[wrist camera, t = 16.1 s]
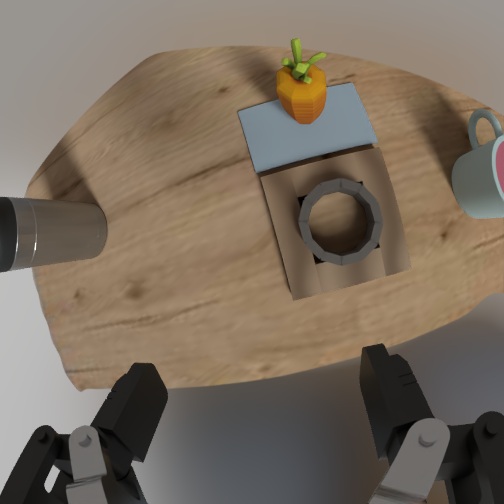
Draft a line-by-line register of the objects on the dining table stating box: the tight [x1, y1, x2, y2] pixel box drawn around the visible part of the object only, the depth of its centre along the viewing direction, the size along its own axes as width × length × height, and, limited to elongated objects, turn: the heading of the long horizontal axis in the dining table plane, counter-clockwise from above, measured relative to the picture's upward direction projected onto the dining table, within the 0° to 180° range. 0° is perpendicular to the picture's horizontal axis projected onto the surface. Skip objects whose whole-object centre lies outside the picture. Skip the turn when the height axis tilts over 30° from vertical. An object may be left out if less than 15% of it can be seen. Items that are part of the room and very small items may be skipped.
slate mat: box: [238, 83, 378, 173], centre depth 31 cm, size 16×9×1 cm, turn 106°
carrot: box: [276, 39, 327, 124], centre depth 23 cm, size 5×5×15 cm
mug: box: [451, 109, 504, 219], centre depth 22 cm, size 14×9×10 cm
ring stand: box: [260, 147, 411, 300], centre depth 30 cm, size 15×15×4 cm
